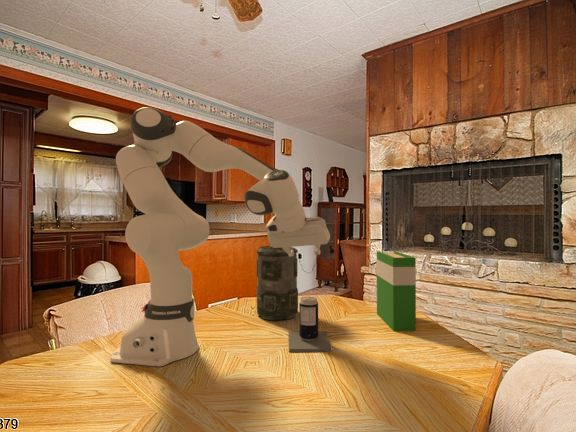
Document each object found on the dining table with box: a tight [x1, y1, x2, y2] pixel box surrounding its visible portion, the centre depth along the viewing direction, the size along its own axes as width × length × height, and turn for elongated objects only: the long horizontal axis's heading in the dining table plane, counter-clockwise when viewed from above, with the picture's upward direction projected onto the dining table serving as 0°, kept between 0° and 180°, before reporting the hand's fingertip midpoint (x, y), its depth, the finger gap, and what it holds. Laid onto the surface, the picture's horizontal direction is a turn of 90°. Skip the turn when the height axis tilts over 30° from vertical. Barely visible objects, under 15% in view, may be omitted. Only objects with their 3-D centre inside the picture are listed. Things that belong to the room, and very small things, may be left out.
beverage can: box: [298, 296, 319, 341], centre depth 94 cm, size 6×6×12 cm
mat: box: [287, 330, 333, 353], centre depth 94 cm, size 12×13×1 cm
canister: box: [256, 245, 299, 321], centre depth 119 cm, size 16×16×28 cm
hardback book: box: [376, 250, 417, 332], centre depth 111 cm, size 18×7×24 cm, turn 1°
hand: (304, 254), depth 104 cm, fingers open, 8 cm apart
